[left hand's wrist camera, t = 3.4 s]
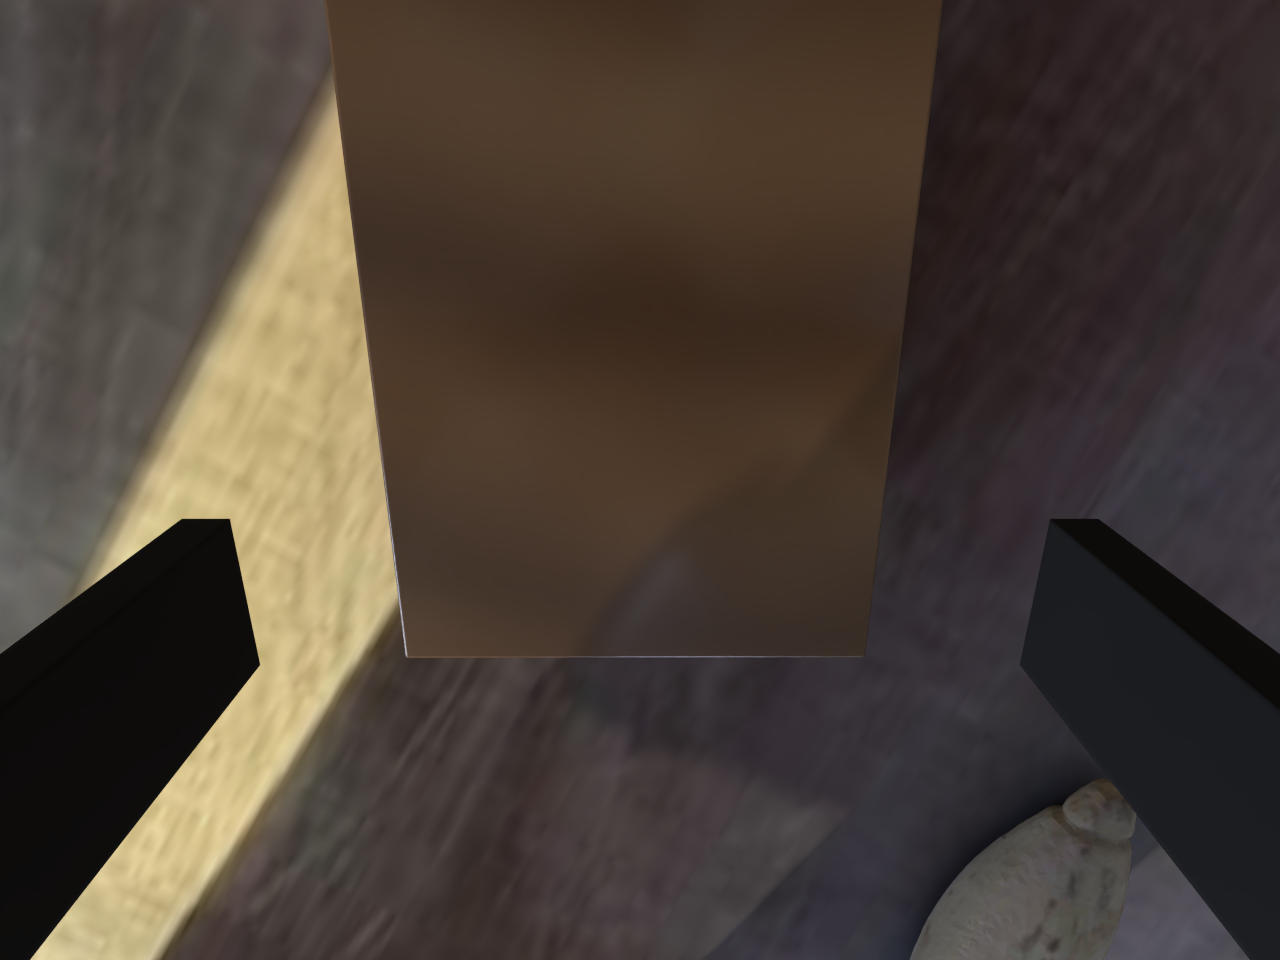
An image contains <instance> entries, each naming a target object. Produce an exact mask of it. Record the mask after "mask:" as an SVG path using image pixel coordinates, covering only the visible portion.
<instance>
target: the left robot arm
mask: <svg viewBox="0 0 1280 960" xmlns="http://www.w3.org/2000/svg"><path fill="white" fill-rule="evenodd" d="M259 666H260V662H259V657H258V653H257V648H256V643H255V638H254V633H253V629H252V624H251V619H250V614H249V609H248V605H247V600H246V595H245V590H244V585H243V580H242V576H241V571H240V566H239V561H238V556H237V552H236V547H235V542H234V537H233V532H232V528H231V523H230V519H181V520H180V521H178V522H177V523H176V524H174V525H173V526H172V527H170V528H169V529H168V530H166V531H165V532H164V533H162V534H161V535H160V536H158V537H157V538H156V539H154V540H153V541H152V542H150V543H149V544H147V545H146V546H145V547H143V548H142V549H141V550H139V551H138V552H137V553H135V554H134V555H133V556H131V557H130V558H129V559H127V560H126V561H125V562H123V563H122V564H121V565H119V566H118V567H117V568H115V569H114V570H113V571H111V572H110V573H109V574H107V575H106V576H104V577H103V578H102V579H100V580H99V581H98V582H96V583H95V584H94V585H92V586H91V587H90V588H88V589H87V590H86V591H84V592H83V593H82V594H80V595H79V596H78V597H76V598H75V599H74V600H72V601H71V602H70V603H68V604H67V605H66V606H64V607H63V608H61V609H60V610H59V611H57V612H56V613H55V614H53V615H52V616H51V617H49V618H48V619H47V620H45V621H44V622H43V623H41V624H40V625H39V626H37V627H36V628H35V629H33V630H32V631H31V632H29V633H28V634H27V635H25V636H24V637H23V638H21V639H20V640H18V641H17V642H16V643H14V644H13V645H12V646H10V647H9V648H8V649H6V650H5V651H4V652H2V653H1V654H0V960H30V959H31V958H32V957H33V955H34V954H35V953H36V951H37V950H38V949H39V948H40V946H41V945H42V944H43V942H44V941H45V940H46V939H47V937H48V936H49V935H50V933H51V932H52V931H53V930H54V928H55V927H56V926H57V924H58V923H59V922H60V921H61V919H62V918H63V917H64V916H65V914H66V913H67V912H68V910H69V909H70V908H71V907H72V905H73V904H74V903H75V901H76V900H77V899H78V898H79V896H80V895H81V894H82V892H83V891H84V890H85V889H86V887H87V886H88V885H89V883H90V882H91V881H92V880H93V878H94V877H95V876H96V875H97V873H98V872H99V871H100V869H101V868H102V867H103V866H104V864H105V863H106V862H107V860H108V859H109V858H110V857H111V855H112V854H113V853H114V851H115V850H116V849H117V848H118V846H119V845H120V844H121V842H122V841H123V840H124V839H125V837H126V836H127V835H128V834H129V832H130V831H131V830H132V828H133V827H134V826H135V825H136V823H137V822H138V821H139V819H140V818H141V817H142V816H143V814H144V813H145V812H146V810H147V809H148V808H149V807H150V805H151V804H152V803H153V801H154V800H155V799H156V798H157V796H158V795H159V794H160V792H161V791H162V790H163V789H164V787H165V786H166V785H167V784H168V782H169V781H170V780H171V778H172V777H173V776H174V775H175V773H176V772H177V771H178V769H179V768H180V767H181V766H182V764H183V763H184V762H185V760H186V759H187V758H188V757H189V755H190V754H191V753H192V751H193V750H194V749H195V748H196V746H197V745H198V744H199V743H200V741H201V740H202V739H203V737H204V736H205V735H206V734H207V732H208V731H209V730H210V728H211V727H212V726H213V725H214V723H215V722H216V721H217V719H218V718H219V717H220V716H221V714H222V713H223V712H224V710H225V709H226V708H227V707H228V705H229V704H230V703H231V702H232V700H233V699H234V698H235V696H236V695H237V694H238V693H239V691H240V690H241V689H242V687H243V686H244V685H245V684H246V682H247V681H248V680H249V678H250V677H251V676H252V675H253V673H254V672H255V671H256V669H257V668H258V667H259ZM1020 666H1021V667H1022V668H1023V669H1024V671H1025V672H1026V673H1027V675H1028V676H1029V677H1030V678H1031V680H1032V681H1033V682H1034V684H1035V685H1036V686H1037V687H1038V689H1039V690H1040V691H1041V693H1042V694H1043V695H1044V696H1045V698H1046V699H1047V700H1048V702H1049V703H1050V704H1051V705H1052V707H1053V708H1054V709H1055V710H1056V712H1057V713H1058V714H1059V716H1060V717H1061V718H1062V719H1063V721H1064V722H1065V723H1066V725H1067V726H1068V727H1069V728H1070V730H1071V731H1072V732H1073V734H1074V735H1075V736H1076V737H1077V739H1078V740H1079V741H1080V743H1081V744H1082V745H1083V746H1084V748H1085V749H1086V750H1087V751H1088V753H1089V754H1090V755H1091V757H1092V758H1093V759H1094V760H1095V762H1096V763H1097V764H1098V766H1099V767H1100V768H1101V769H1102V771H1103V772H1104V773H1105V775H1106V776H1107V777H1108V778H1109V780H1110V781H1111V782H1112V784H1113V785H1114V786H1115V787H1116V789H1117V790H1118V791H1119V792H1120V794H1121V795H1122V796H1123V798H1124V799H1125V800H1126V801H1127V803H1128V804H1129V805H1130V807H1131V808H1132V809H1133V810H1134V812H1135V813H1136V814H1137V816H1138V817H1139V818H1140V819H1141V821H1142V822H1143V823H1144V825H1145V826H1146V827H1147V828H1148V830H1149V831H1150V832H1151V834H1152V835H1153V836H1154V837H1155V839H1156V840H1157V841H1158V842H1159V844H1160V845H1161V846H1162V848H1163V849H1164V850H1165V851H1166V853H1167V854H1168V855H1169V857H1170V858H1171V859H1172V860H1173V862H1174V863H1175V864H1176V866H1177V867H1178V868H1179V869H1180V871H1181V872H1182V873H1183V875H1184V876H1185V877H1186V878H1187V880H1188V881H1189V882H1190V883H1191V885H1192V886H1193V887H1194V889H1195V890H1196V891H1197V892H1198V894H1199V895H1200V896H1201V898H1202V899H1203V900H1204V901H1205V903H1206V904H1207V905H1208V907H1209V908H1210V909H1211V910H1212V912H1213V913H1214V914H1215V916H1216V917H1217V918H1218V919H1219V921H1220V922H1221V923H1222V924H1223V926H1224V927H1225V928H1226V930H1227V931H1228V932H1229V933H1230V935H1231V936H1232V937H1233V939H1234V940H1235V941H1236V942H1237V944H1238V945H1239V946H1240V948H1241V949H1242V950H1243V951H1244V953H1245V954H1246V955H1247V957H1248V958H1249V959H1250V960H1280V654H1279V653H1278V652H1276V651H1275V650H1274V649H1272V648H1271V647H1270V646H1268V645H1267V644H1266V643H1264V642H1263V641H1262V640H1260V639H1259V638H1257V637H1256V636H1255V635H1253V634H1252V633H1251V632H1249V631H1248V630H1247V629H1245V628H1244V627H1243V626H1241V625H1240V624H1239V623H1237V622H1236V621H1235V620H1233V619H1232V618H1231V617H1229V616H1228V615H1227V614H1225V613H1224V612H1223V611H1221V610H1220V609H1219V608H1217V607H1216V606H1214V605H1213V604H1212V603H1210V602H1209V601H1208V600H1206V599H1205V598H1204V597H1202V596H1201V595H1200V594H1198V593H1197V592H1196V591H1194V590H1193V589H1192V588H1190V587H1189V586H1188V585H1186V584H1185V583H1184V582H1182V581H1181V580H1180V579H1178V578H1177V577H1176V576H1174V575H1173V574H1171V573H1170V572H1169V571H1167V570H1166V569H1165V568H1163V567H1162V566H1161V565H1159V564H1158V563H1157V562H1155V561H1154V560H1153V559H1151V558H1150V557H1149V556H1147V555H1146V554H1145V553H1143V552H1142V551H1141V550H1139V549H1138V548H1137V547H1135V546H1134V545H1133V544H1131V543H1130V542H1128V541H1127V540H1126V539H1124V538H1123V537H1122V536H1120V535H1119V534H1118V533H1116V532H1115V531H1114V530H1112V529H1111V528H1110V527H1108V526H1107V525H1106V524H1104V523H1103V522H1102V521H1100V520H1099V519H1050V523H1049V528H1048V532H1047V537H1046V542H1045V547H1044V552H1043V556H1042V561H1041V566H1040V571H1039V576H1038V580H1037V585H1036V590H1035V595H1034V600H1033V605H1032V609H1031V614H1030V619H1029V624H1028V629H1027V633H1026V638H1025V643H1024V648H1023V653H1022V657H1021V662H1020Z"/></svg>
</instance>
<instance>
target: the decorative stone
mask: <svg viewBox="0 0 1280 960" xmlns="http://www.w3.org/2000/svg"><path fill="white" fill-rule="evenodd" d="M1136 816H1137V814H1136V813H1135V812H1134V810H1133V809H1132V808H1131V807H1130V805H1129V804H1128V803H1127V801H1126V800H1125V799H1124V798H1123V796H1122V795H1121V794H1120V792H1119V791H1118V790H1117V789H1116V787H1115V786H1114V785H1113V784H1112V782H1111V781H1110V780H1109V779H1103V778H1101V779H1097V780H1094V781H1092V782H1091V783H1089V784H1087V785H1086V786H1084V787H1082V788H1080V789H1079V790H1077V791H1076V792H1075V793H1073V794H1072V795H1071V796H1069V797H1068V798H1067V800H1066V801H1065V803H1064V804H1063V805H1062V806H1060V805H1054V806H1050V807H1048V808H1046V809H1044V810H1042V811H1041V812H1039V813H1037V814H1036V815H1034V816H1032V817H1031V818H1029V819H1027V820H1025V821H1024V822H1022V823H1020V824H1019V825H1017V826H1016V827H1015V828H1013V829H1012V830H1010V831H1009V832H1007V833H1005V834H1004V835H1002V836H1001V837H999V838H998V839H997V840H995V841H994V842H993V843H992V844H991V845H989V846H988V847H987V848H985V849H984V850H983V851H982V852H981V853H980V854H978V855H977V856H976V857H975V858H974V859H973V860H972V861H971V862H970V863H969V864H968V865H967V866H966V867H965V868H964V869H963V871H962V872H961V873H960V874H959V875H958V876H957V877H956V878H955V880H954V881H953V882H952V883H951V884H950V886H949V887H948V888H947V890H946V891H945V893H944V894H943V895H942V897H941V898H940V900H939V901H938V903H937V904H936V906H935V907H934V909H933V911H932V912H931V914H930V916H929V917H928V919H927V921H926V923H925V925H924V927H923V929H922V931H921V934H920V936H919V939H918V941H917V943H916V945H915V947H914V950H913V952H912V955H911V958H910V960H1104V958H1105V956H1106V954H1107V952H1108V949H1109V947H1110V945H1111V943H1112V940H1113V938H1114V935H1115V933H1116V930H1117V927H1118V923H1119V920H1120V917H1121V914H1122V912H1123V908H1124V903H1125V895H1126V890H1127V883H1128V878H1129V873H1130V868H1131V855H1132V848H1131V844H1130V841H1129V839H1128V838H1130V837H1131V836H1132V835H1133V833H1134V831H1135V823H1136Z"/></svg>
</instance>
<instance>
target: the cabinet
mask: <svg viewBox="0 0 1280 960" xmlns="http://www.w3.org/2000/svg"><path fill="white" fill-rule="evenodd" d="M324 3H325V11H326V19H327V27H328V35H329V43H330V51H331V59H332V68H333V76H334V84H335V92H336V100H337V108H338V116H339V124H340V132H341V140H342V148H343V156H344V164H345V172H346V180H347V188H348V196H349V204H350V212H351V220H352V228H353V236H354V244H355V252H356V260H357V268H358V276H359V284H360V292H361V300H362V308H363V316H364V324H365V332H366V340H367V348H368V356H369V365H370V373H371V381H372V389H373V397H374V405H375V413H376V421H377V429H378V437H379V445H380V453H381V461H382V469H383V477H384V485H385V493H386V501H387V509H388V517H389V525H390V533H391V541H392V549H393V557H394V565H395V573H396V581H397V589H398V597H399V605H400V613H401V621H402V629H403V637H404V645H405V653H406V657H408V658H654V657H864V656H865V651H866V642H867V634H868V626H869V617H870V609H871V601H872V592H873V584H874V576H875V567H876V559H877V551H878V542H879V534H880V526H881V517H882V509H883V501H884V492H885V484H886V476H887V467H888V459H889V451H890V442H891V434H892V426H893V417H894V409H895V401H896V392H897V384H898V376H899V367H900V359H901V351H902V342H903V334H904V326H905V317H906V309H907V301H908V292H909V284H910V276H911V267H912V259H913V251H914V242H915V234H916V226H917V217H918V209H919V201H920V192H921V184H922V176H923V167H924V159H925V151H926V142H927V134H928V126H929V117H930V109H931V101H932V92H933V84H934V76H935V67H936V59H937V51H938V42H939V34H940V26H941V17H942V9H943V0H324Z"/></svg>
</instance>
